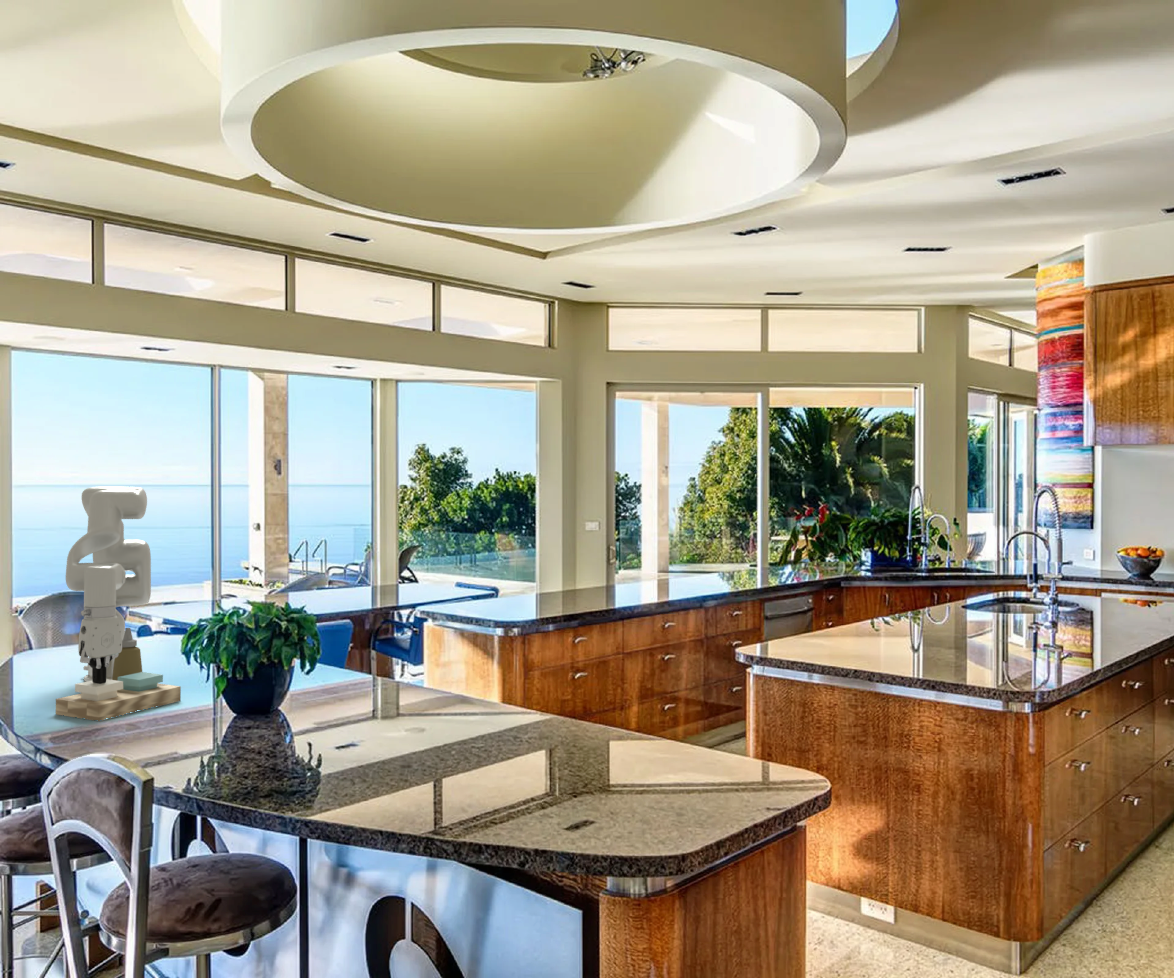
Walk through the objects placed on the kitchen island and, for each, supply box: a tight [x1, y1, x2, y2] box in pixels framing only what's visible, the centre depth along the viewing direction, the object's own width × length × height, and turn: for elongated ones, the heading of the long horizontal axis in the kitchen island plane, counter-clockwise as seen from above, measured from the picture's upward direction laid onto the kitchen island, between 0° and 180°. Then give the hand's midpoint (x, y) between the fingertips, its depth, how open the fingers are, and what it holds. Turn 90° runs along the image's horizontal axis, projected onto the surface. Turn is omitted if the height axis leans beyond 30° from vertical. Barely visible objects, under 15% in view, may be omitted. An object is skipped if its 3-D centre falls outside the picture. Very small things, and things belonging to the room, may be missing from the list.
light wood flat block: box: [55, 683, 182, 722], centre depth 263 cm, size 26×16×4 cm, turn 155°
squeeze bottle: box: [112, 627, 143, 681], centre depth 285 cm, size 8×8×18 cm
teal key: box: [118, 671, 164, 692], centre depth 269 cm, size 8×8×5 cm
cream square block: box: [74, 679, 123, 701], centre depth 257 cm, size 8×8×5 cm
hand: (99, 682), depth 257 cm, fingers closed
